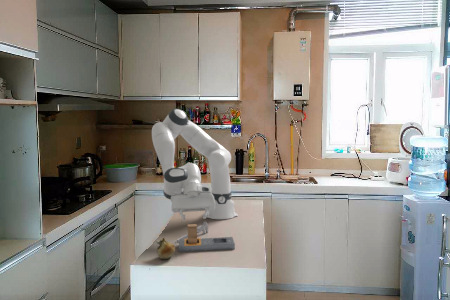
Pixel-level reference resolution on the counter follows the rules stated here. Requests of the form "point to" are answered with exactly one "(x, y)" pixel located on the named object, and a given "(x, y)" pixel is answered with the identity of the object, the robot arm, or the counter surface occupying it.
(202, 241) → the rail
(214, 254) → the counter surface
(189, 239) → the peg
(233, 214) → the robot arm
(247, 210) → the counter surface
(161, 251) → the onion
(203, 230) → the caliper
